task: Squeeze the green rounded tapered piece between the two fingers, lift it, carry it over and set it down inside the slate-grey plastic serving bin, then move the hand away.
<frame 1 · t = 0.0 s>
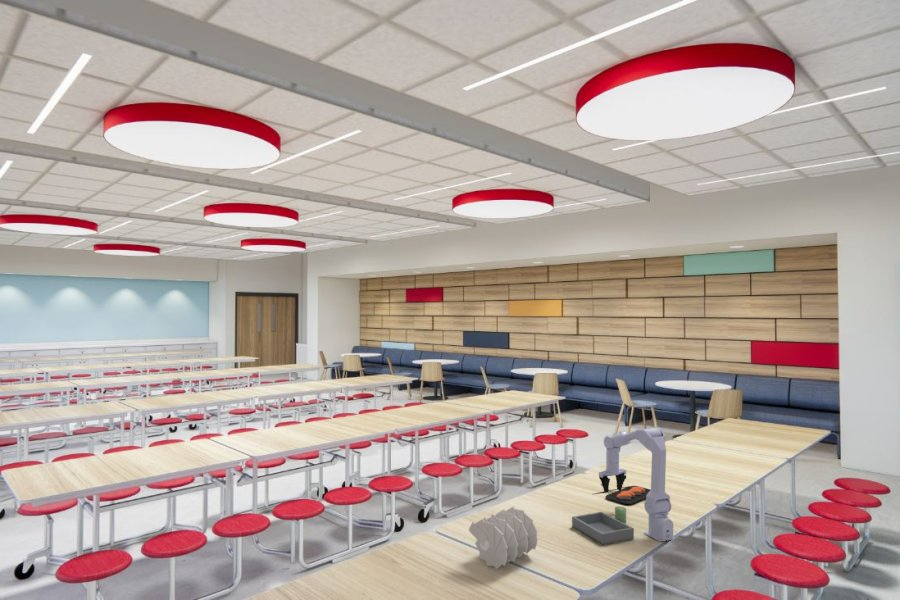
hand: (612, 491, 250), 10 cm above the table, tool pointing down, fingers open, 7 cm apart
sushi plate: (617, 494, 278), on the table
green rounded tapered piece: (620, 521, 239), on the table
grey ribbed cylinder: (505, 559, 201), on the table
serving bin: (602, 533, 226), on the table
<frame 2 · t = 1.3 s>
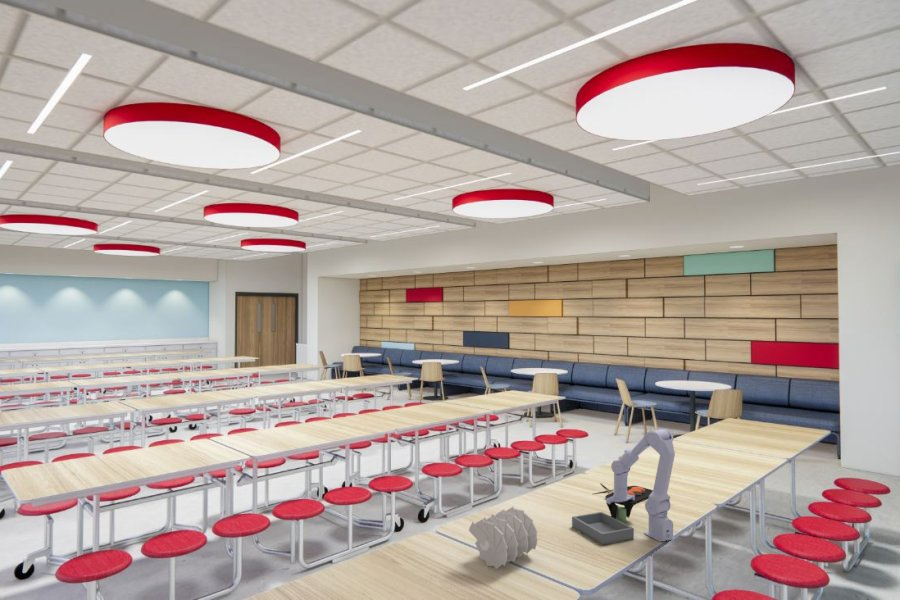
hand: (620, 517, 239), 2 cm above the table, tool pointing down, fingers open, 7 cm apart
nothing on the table moved.
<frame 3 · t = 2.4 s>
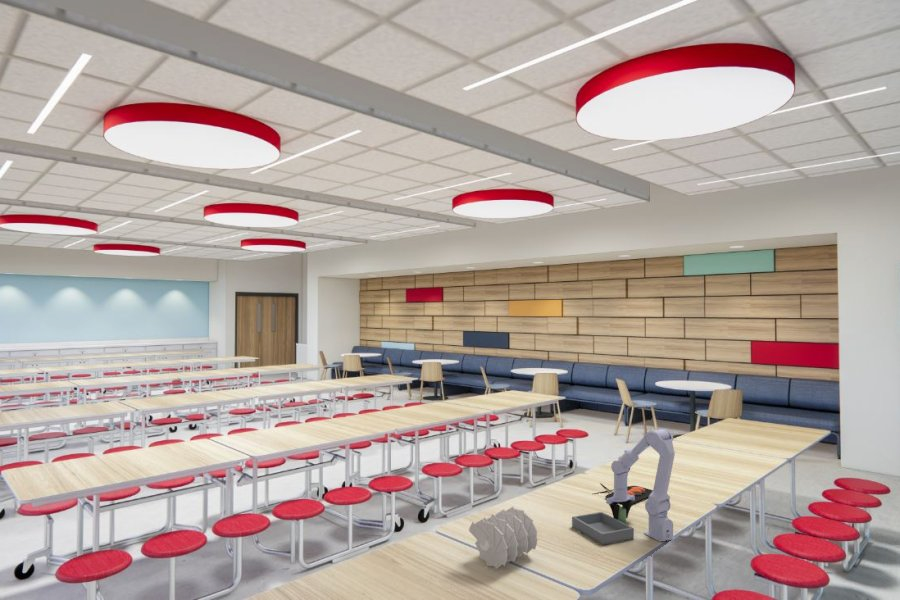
hand: (620, 518, 239), 2 cm above the table, tool pointing down, fingers closed on green rounded tapered piece, 5 cm apart
green rounded tapered piece: (620, 521, 239), on the table, touching gripper
everything else where it was.
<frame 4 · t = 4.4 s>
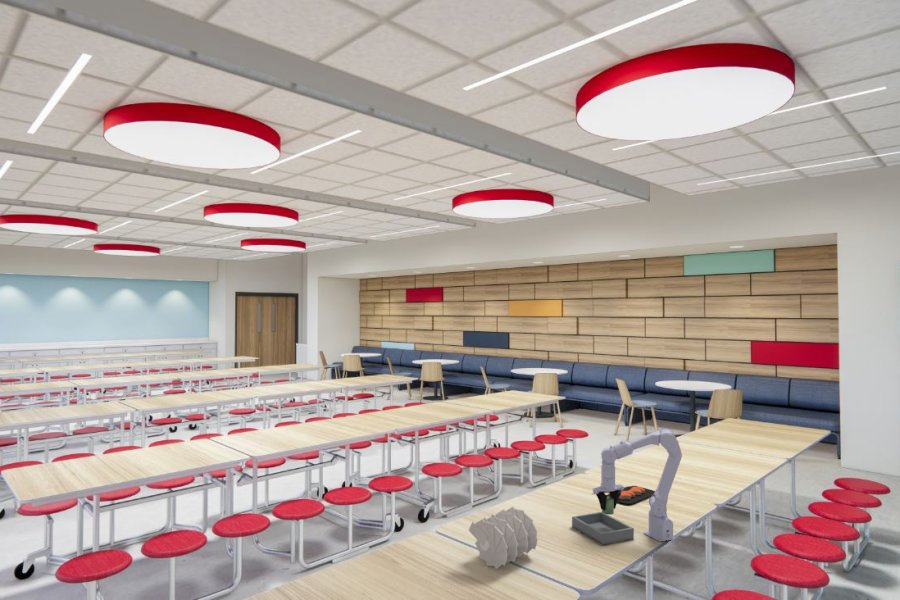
hand: (608, 508, 230), 9 cm above the table, tool pointing down, fingers closed on green rounded tapered piece, 5 cm apart
green rounded tapered piece: (607, 512, 230), point 7 cm above the table, touching gripper
everything else where it was.
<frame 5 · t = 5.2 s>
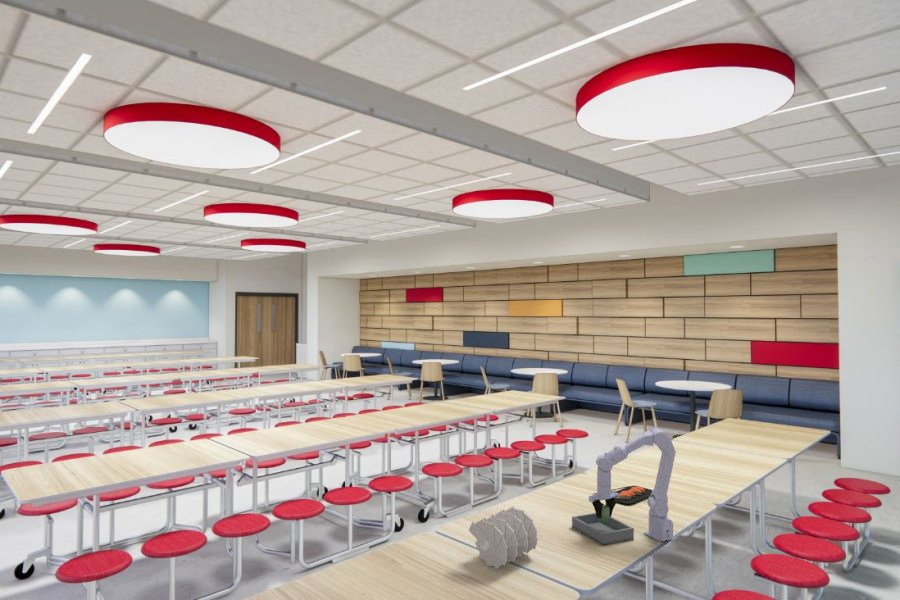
hand: (603, 516, 227), 7 cm above the table, tool pointing down, fingers closed on green rounded tapered piece, 5 cm apart
green rounded tapered piece: (603, 520, 227), point 5 cm above the table, touching gripper
everything else where it was.
when the fingers open (5 cm above the table, at t = 6.4 s): green rounded tapered piece drops 2 cm, resting on serving bin.
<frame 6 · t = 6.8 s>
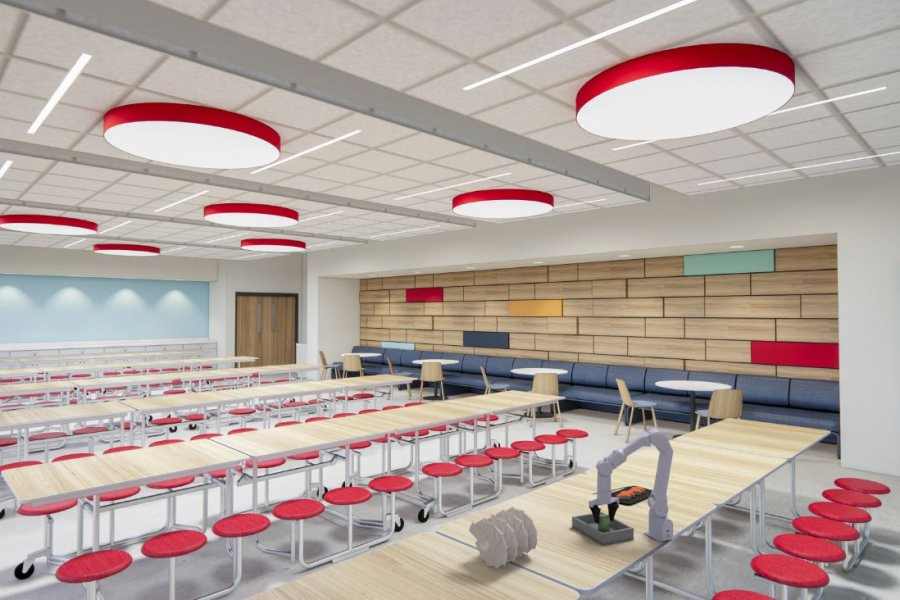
hand: (603, 521, 227), 5 cm above the table, tool pointing down, fingers open, 7 cm apart
green rounded tapered piece: (603, 530, 227), point 1 cm above the table, touching serving bin
everything else where it was.
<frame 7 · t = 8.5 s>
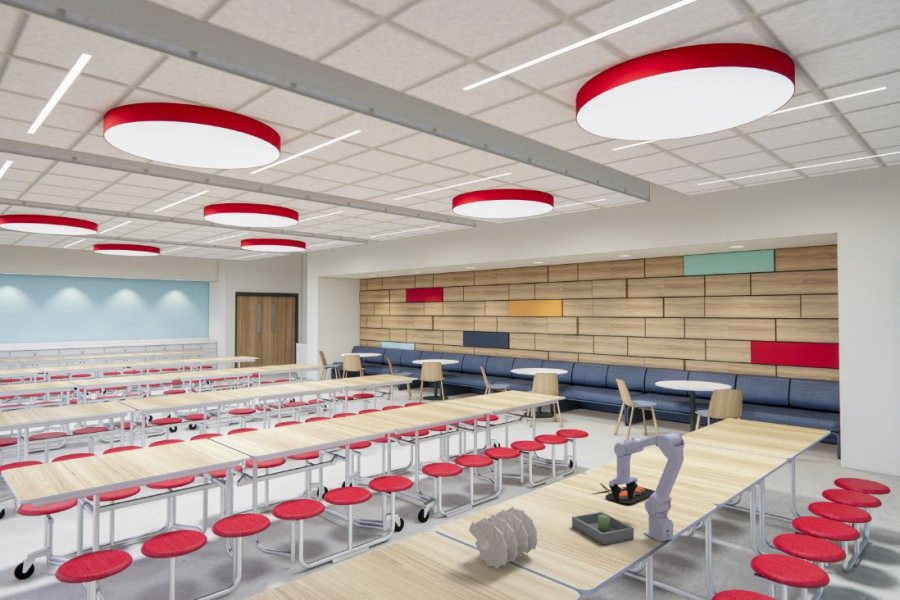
hand: (623, 500, 239), 9 cm above the table, tool pointing down, fingers open, 7 cm apart
nothing on the table moved.
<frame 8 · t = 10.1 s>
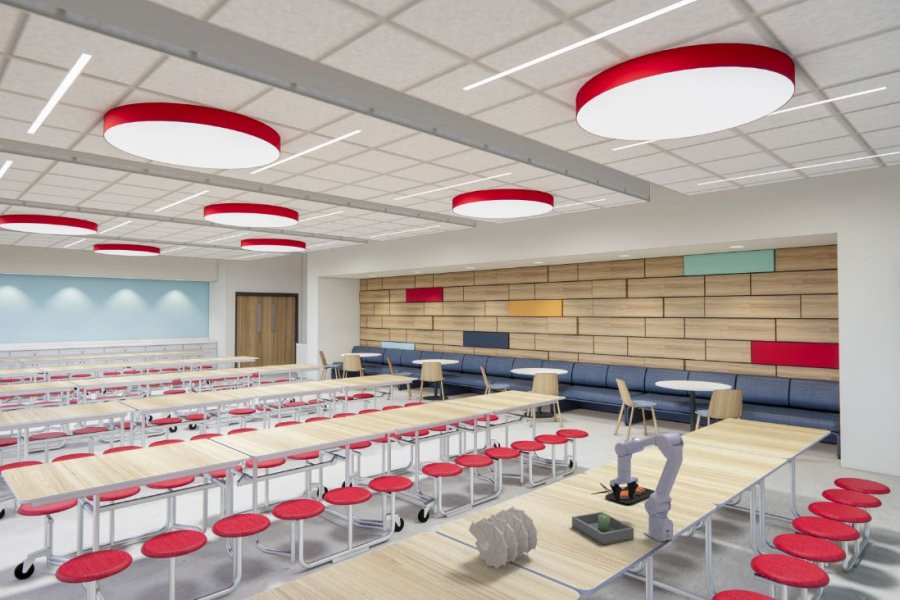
hand: (624, 499, 240), 9 cm above the table, tool pointing down, fingers open, 7 cm apart
nothing on the table moved.
at the end: green rounded tapered piece inside the target area on the serving bin (1.0 cm from its centre), point 0.9 cm above the serving bin's base; the gripper is holding nothing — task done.
